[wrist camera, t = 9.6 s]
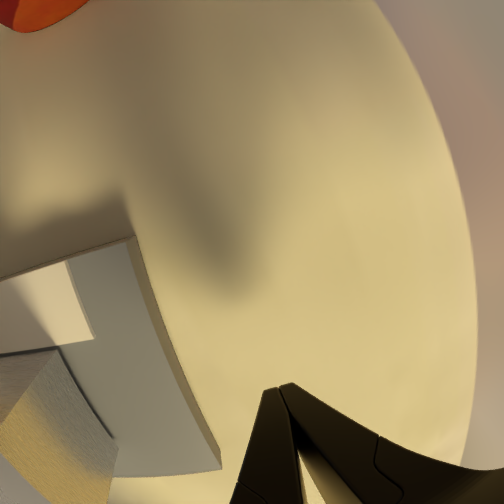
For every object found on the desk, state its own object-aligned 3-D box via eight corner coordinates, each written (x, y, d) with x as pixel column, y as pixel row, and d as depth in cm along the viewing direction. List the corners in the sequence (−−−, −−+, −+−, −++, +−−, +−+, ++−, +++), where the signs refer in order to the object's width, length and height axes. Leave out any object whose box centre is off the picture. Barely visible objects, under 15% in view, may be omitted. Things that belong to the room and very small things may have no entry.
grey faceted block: (119, 448, 8) (100, 539, 4) (37, 445, 8) (7, 512, 4) (26, 273, 7) (-72, 335, 2) (-46, 299, 6) (-116, 345, 2)
